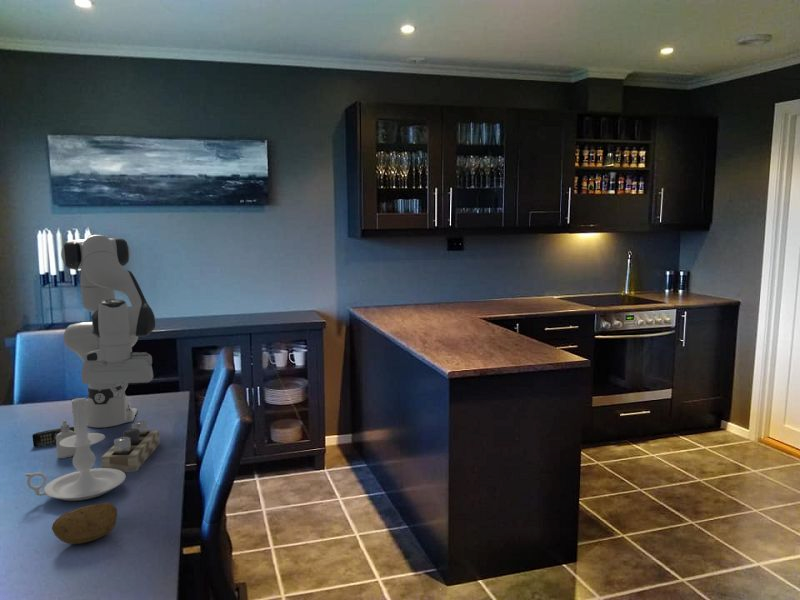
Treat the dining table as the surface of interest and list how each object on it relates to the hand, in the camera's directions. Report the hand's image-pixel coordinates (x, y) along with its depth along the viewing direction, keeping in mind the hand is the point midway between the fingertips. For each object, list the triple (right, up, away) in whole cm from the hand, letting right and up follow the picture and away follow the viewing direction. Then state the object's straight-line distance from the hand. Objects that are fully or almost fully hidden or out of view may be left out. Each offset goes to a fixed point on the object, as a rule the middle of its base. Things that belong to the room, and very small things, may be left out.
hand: (119, 397), depth 191 cm
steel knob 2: (-1, -16, +18) cm, 25 cm away
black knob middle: (-1, -17, +10) cm, 20 cm away
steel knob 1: (0, -18, +2) cm, 18 cm away
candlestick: (-4, -25, -16) cm, 30 cm away
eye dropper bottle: (-23, -22, +13) cm, 34 cm away
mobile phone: (-33, -20, +26) cm, 46 cm away
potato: (+11, -28, -42) cm, 52 cm away
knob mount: (-1, -21, +11) cm, 24 cm away
